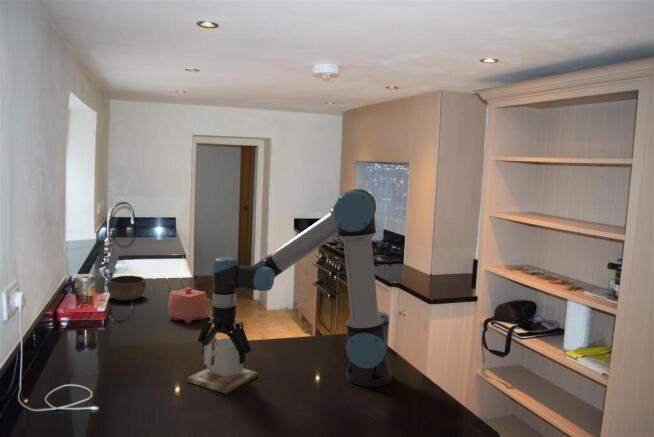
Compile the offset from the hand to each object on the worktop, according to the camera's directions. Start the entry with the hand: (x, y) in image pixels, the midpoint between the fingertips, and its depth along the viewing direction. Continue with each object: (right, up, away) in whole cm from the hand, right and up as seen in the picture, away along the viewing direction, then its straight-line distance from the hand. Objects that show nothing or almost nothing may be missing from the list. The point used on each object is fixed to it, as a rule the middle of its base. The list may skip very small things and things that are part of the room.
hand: (223, 367), depth 174 cm
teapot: (-28, +4, +62) cm, 68 cm away
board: (0, -4, 0) cm, 4 cm away
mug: (0, -2, +1) cm, 2 cm away
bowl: (-66, +9, +91) cm, 113 cm away
